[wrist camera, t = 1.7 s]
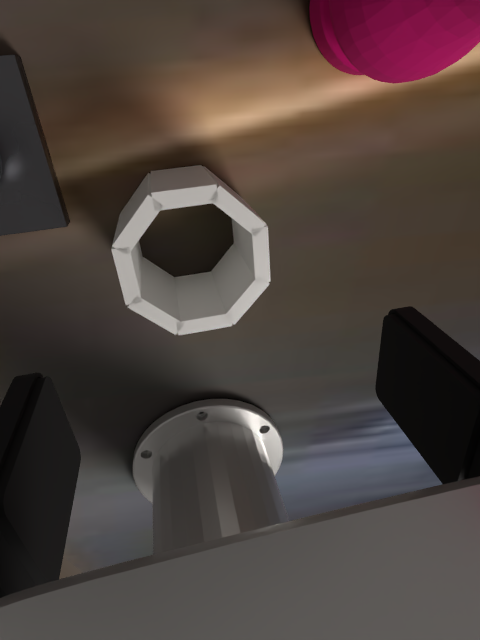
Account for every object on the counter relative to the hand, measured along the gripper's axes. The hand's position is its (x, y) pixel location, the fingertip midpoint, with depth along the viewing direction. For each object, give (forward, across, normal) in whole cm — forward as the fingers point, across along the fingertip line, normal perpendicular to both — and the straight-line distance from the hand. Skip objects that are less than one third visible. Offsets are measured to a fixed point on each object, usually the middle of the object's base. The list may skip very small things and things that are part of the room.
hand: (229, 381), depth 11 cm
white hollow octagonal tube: (+16, 0, 0) cm, 16 cm away
